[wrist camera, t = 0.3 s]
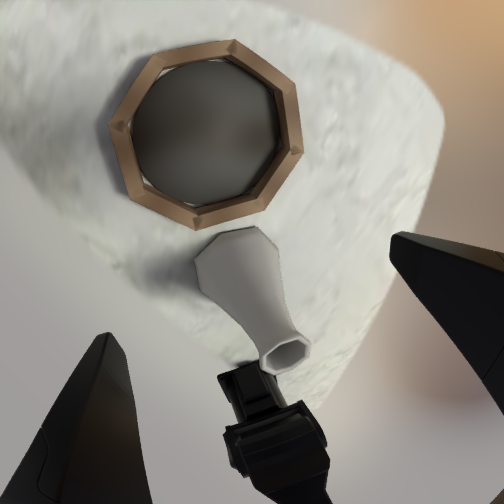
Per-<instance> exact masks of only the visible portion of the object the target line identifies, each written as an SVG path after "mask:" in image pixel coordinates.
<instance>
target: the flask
mask: <svg viewBox="0 0 504 504" xmlns="http://www.w3.org/2000/svg"><path fill="white" fill-rule="evenodd" d="M194 260H195V266H196V272H197V277H198V283H199V288H200V290H201V291H202V292H203V293H204V294H206V295H207V296H208V297H209V298H210V299H211V300H213V301H214V302H215V303H216V304H217V305H219V306H220V307H221V308H222V309H223V310H224V311H225V312H226V313H227V314H229V315H230V316H231V317H232V318H233V319H234V320H235V321H236V322H237V323H238V324H240V325H241V326H242V328H243V329H244V330H245V332H246V333H247V334H248V336H249V337H250V338H251V339H252V341H253V342H254V343H255V346H256V348H257V350H258V352H259V364H260V368H261V370H263V371H265V372H267V373H269V374H271V375H273V376H274V375H278V374H281V373H284V372H287V371H290V370H293V369H294V368H296V367H297V366H298V365H300V364H301V363H302V362H303V361H305V360H306V359H307V358H309V355H310V348H311V342H310V341H309V340H308V339H307V338H306V337H304V336H303V335H302V334H300V333H299V332H298V331H297V330H296V328H295V326H294V325H293V323H292V320H291V317H290V314H289V312H288V309H287V306H286V303H285V296H284V290H283V283H282V276H281V267H280V257H279V250H278V248H277V247H276V246H275V245H274V244H273V242H272V241H271V240H270V239H269V238H268V237H267V236H266V235H265V234H264V233H263V232H262V231H261V230H260V229H259V228H258V227H254V228H248V229H243V230H238V231H232V232H227V233H222V234H220V235H219V236H218V237H217V238H216V239H215V240H214V241H213V242H212V243H211V244H210V245H209V246H208V247H207V248H205V249H204V250H203V251H202V252H201V253H200V254H199V255H198V256H197V257H196V258H195V259H194Z"/></svg>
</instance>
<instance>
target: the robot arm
mask: <svg viewBox="0 0 504 504" xmlns="http://www.w3.org/2000/svg"><path fill="white" fill-rule="evenodd" d="M389 258H390V261H391V263H392V264H393V266H394V267H395V268H396V270H397V271H398V272H399V274H400V275H401V276H402V278H403V279H404V280H405V282H406V283H407V285H408V286H409V287H410V289H411V290H412V292H413V293H414V294H415V295H416V297H417V298H418V299H419V301H420V302H421V303H422V304H423V305H424V306H425V308H426V309H427V310H428V311H429V312H430V314H431V315H432V316H433V317H434V318H435V320H436V321H437V322H438V323H439V325H440V326H441V327H442V328H443V329H444V331H445V332H446V333H447V335H448V336H449V337H450V339H451V340H452V341H453V342H454V344H455V345H456V346H457V348H458V349H459V350H460V352H461V353H462V354H463V356H464V357H465V358H466V360H467V361H468V363H469V364H470V365H471V367H472V368H473V369H474V371H475V372H476V374H477V375H478V377H479V378H480V379H481V380H482V383H483V384H484V386H485V387H486V389H487V390H488V392H489V393H490V395H491V396H492V398H493V399H494V401H495V402H496V404H497V406H498V407H499V409H500V410H501V412H502V414H503V415H504V253H502V252H497V251H493V250H489V249H485V248H480V247H475V246H471V245H467V244H463V243H458V242H453V241H449V240H443V239H439V238H434V237H430V236H425V235H419V234H415V233H410V232H404V231H401V232H398V233H395V234H393V235H392V237H391V242H390V253H389ZM217 379H218V382H219V383H220V385H221V387H222V389H223V391H224V393H225V395H226V397H227V399H228V401H229V402H230V403H231V404H232V407H233V410H234V412H235V415H236V418H237V421H238V424H235V425H232V426H230V425H229V426H226V427H225V428H226V432H225V433H224V434H223V437H224V440H225V443H226V447H227V451H228V456H229V461H230V465H231V467H232V468H235V469H237V470H238V471H239V473H241V475H242V476H243V478H247V477H250V479H251V482H252V484H253V486H254V487H255V489H256V490H258V491H259V492H261V493H262V494H264V495H265V496H267V497H268V498H270V499H271V500H273V501H274V502H276V503H277V504H333V503H332V502H331V500H330V498H329V496H328V494H327V492H326V483H327V476H328V470H329V468H330V458H329V456H328V454H327V452H326V450H325V448H326V447H327V441H326V437H325V435H324V433H323V430H322V428H321V426H320V425H319V423H318V422H317V420H316V419H315V418H314V416H313V415H312V413H311V412H310V410H309V409H308V408H307V406H306V405H305V403H304V402H303V400H300V401H297V403H294V404H292V405H289V406H288V405H287V403H286V401H285V399H284V397H283V395H282V393H281V391H280V389H279V387H278V384H277V379H276V375H274V376H273V375H271V374H269V373H267V372H265V371H263V370H261V368H260V364H259V361H257V362H254V363H251V364H249V365H246V366H243V367H240V368H237V369H234V370H231V371H228V372H225V373H222V374H219V375H218V376H217ZM41 427H42V428H40V429H39V431H38V432H37V435H36V436H35V438H34V440H33V442H32V444H31V445H30V447H29V449H28V451H27V453H26V454H25V456H24V458H23V459H22V461H21V463H20V465H19V466H18V468H17V470H16V471H15V473H14V475H13V476H12V478H11V480H10V481H9V483H8V485H7V487H6V488H5V490H4V492H3V494H2V495H1V497H0V504H153V503H152V499H151V495H150V490H149V486H148V481H147V476H146V471H145V466H144V461H143V456H142V449H141V443H140V436H139V430H138V422H137V414H136V407H135V401H134V395H133V391H132V386H131V381H130V376H129V370H128V365H127V359H126V355H125V353H124V351H123V349H122V348H121V346H120V345H119V343H118V342H117V340H116V339H115V337H114V336H113V335H112V333H110V332H106V333H103V334H99V335H97V336H96V338H95V339H94V341H93V342H92V344H91V345H90V347H89V348H88V350H87V352H86V353H85V354H84V356H83V357H82V359H81V360H80V362H79V363H78V365H77V366H76V368H75V370H74V371H73V373H72V374H71V376H70V378H69V379H68V381H67V383H66V384H65V386H64V388H63V389H62V391H61V392H60V394H59V396H58V397H57V399H56V401H55V402H54V405H53V406H52V408H51V409H50V411H49V413H48V414H47V416H46V418H45V420H44V422H43V423H42V425H41ZM490 504H504V489H503V490H502V491H501V492H500V493H499V495H498V496H497V497H496V498H495V499H494V500H493V501H492V502H491V503H490Z"/></svg>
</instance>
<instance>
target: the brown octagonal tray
mask: <svg viewBox="0 0 504 504" xmlns="http://www.w3.org/2000/svg"><path fill="white" fill-rule="evenodd" d="M220 58H227V59H228V60H230V61H231V62H233V63H234V64H236V65H237V66H235V65H232V64H228V63H225V62H217V61H208V60H214V59H220ZM183 65H184V66H183ZM179 66H182V67H179ZM238 66H239V67H238ZM175 67H179V68H177V69H175V70H173V71H171V72H170V73H168V74H166V75H165V76H164V77H162V78H161V79H160V80H159V81H157V82H156V84H155V85H154V86H153V87H152V88H151V86H152V85H153V83H154V82H155V81H156V79H157V78H158V76H159V75H160V73H161V72H162V71H163V70H166V69H171V68H175ZM261 82H262V83H263V84H264V85H266V86H267V87H268V88H270V89H271V90H272V91H274V98H275V102H274V100H273V98H272V96H271V94H270V93H269V91H268V90H267V89H266V87H265V86H264V85H263V84H262V83H261ZM150 88H151V89H150ZM149 89H150V90H149ZM275 104H276V105H275ZM139 105H140V106H139ZM138 107H139V108H138ZM137 108H138V111H137V114H136V117H135V121H134V126H133V143H132V139H131V135H130V132H129V128H128V124H129V122H130V120H131V118H132V117H133V115H134V113H135V112H136V110H137ZM108 127H109V130H110V134H111V138H112V141H113V145H114V149H115V152H116V156H117V159H118V162H119V166H120V169H121V172H122V175H123V179H124V182H125V185H126V188H127V191H128V194H129V197H130V200H132V201H134V202H136V203H139V204H141V205H143V206H145V207H147V208H149V209H151V210H153V211H155V212H157V213H160V214H162V215H164V216H166V217H168V218H170V219H172V220H174V221H176V222H178V223H181V224H183V225H185V226H187V227H189V228H191V229H193V230H195V231H197V230H200V229H204V228H207V227H210V226H214V225H217V224H220V223H223V222H227V221H230V220H234V219H237V218H240V217H244V216H247V215H251V214H254V213H258V212H261V211H265V209H266V208H267V206H268V205H269V203H270V202H271V200H272V199H273V197H274V196H275V194H276V193H277V191H278V190H279V189H280V187H281V186H282V184H283V183H284V181H285V180H286V178H287V177H288V175H289V174H290V172H291V171H292V170H293V168H294V167H295V165H296V164H297V162H298V161H299V159H300V158H301V157H302V155H303V154H304V147H303V138H302V130H301V122H300V114H299V107H298V99H297V92H296V86H295V83H294V82H293V81H291V80H290V79H289V78H288V77H286V76H285V75H284V74H283V73H281V72H280V71H279V70H278V69H276V68H275V67H274V66H272V65H271V64H270V63H268V62H267V61H266V60H264V59H263V58H261V57H260V56H259V55H257V54H256V53H254V52H253V51H252V50H250V49H249V48H247V47H246V46H244V45H243V44H241V43H240V42H238V41H237V40H235V39H232V40H224V41H217V42H211V43H205V44H199V45H193V46H188V47H183V48H178V49H174V50H170V51H165V52H161V53H157V54H153V56H152V57H151V58H150V60H149V61H148V62H147V64H146V65H145V67H144V68H143V70H142V71H141V73H140V74H139V75H138V77H137V78H136V80H135V82H134V83H133V85H132V86H131V88H130V89H129V91H128V92H127V94H126V96H125V97H124V99H123V101H122V102H121V104H120V106H119V107H118V109H117V111H116V112H115V114H114V116H113V118H112V120H111V121H110V123H109V125H108ZM279 138H281V145H282V146H281V148H280V149H279V151H278V152H277V154H276V151H277V148H278V144H279ZM133 146H134V147H133ZM275 154H276V155H275ZM139 166H140V168H141V169H142V171H143V173H144V174H145V176H146V177H147V178H148V180H149V181H150V182H151V183H152V184H153V185H154V186H155V187H156V188H157V189H156V188H154V187H152V186H150V185H148V184H146V183H144V181H143V178H142V175H141V171H140V168H139ZM255 184H256V185H255ZM253 185H255V186H254V188H253V189H252V191H251V192H250V193H247V194H243V195H241V194H242V193H244V192H245V191H247V190H249V189H250V188H251V187H252V186H253ZM158 189H159V190H158ZM239 195H240V196H239ZM184 202H186V203H191V204H208V205H205V206H201V207H198V208H194V207H192V206H190V205H188V204H186V203H184Z"/></svg>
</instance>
